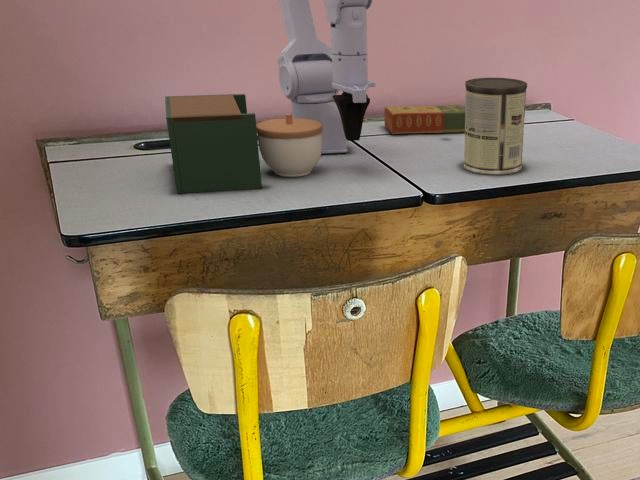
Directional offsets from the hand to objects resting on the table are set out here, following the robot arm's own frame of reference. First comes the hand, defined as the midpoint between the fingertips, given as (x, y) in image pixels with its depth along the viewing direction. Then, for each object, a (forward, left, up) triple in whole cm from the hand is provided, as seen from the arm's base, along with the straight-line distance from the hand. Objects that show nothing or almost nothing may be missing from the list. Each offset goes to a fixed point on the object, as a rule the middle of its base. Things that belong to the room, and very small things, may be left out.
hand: (352, 139), depth 137 cm
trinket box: (+10, 0, -5) cm, 12 cm away
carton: (-21, -27, -5) cm, 34 cm away
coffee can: (-24, +4, -5) cm, 25 cm away
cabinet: (+22, 0, -5) cm, 23 cm away
